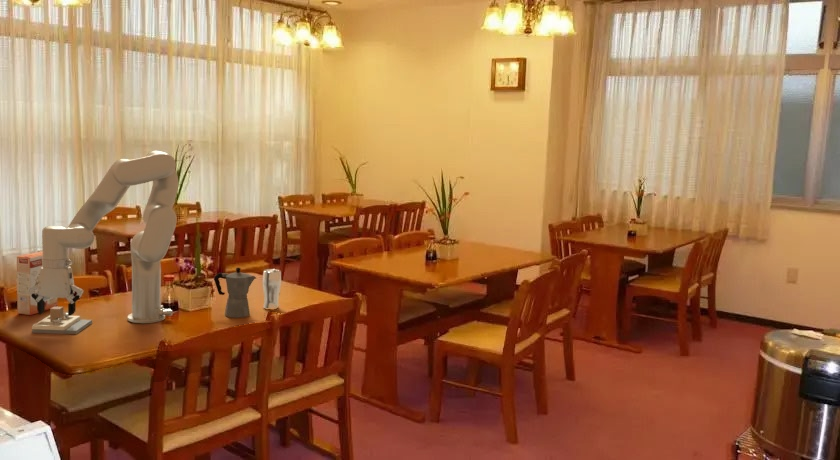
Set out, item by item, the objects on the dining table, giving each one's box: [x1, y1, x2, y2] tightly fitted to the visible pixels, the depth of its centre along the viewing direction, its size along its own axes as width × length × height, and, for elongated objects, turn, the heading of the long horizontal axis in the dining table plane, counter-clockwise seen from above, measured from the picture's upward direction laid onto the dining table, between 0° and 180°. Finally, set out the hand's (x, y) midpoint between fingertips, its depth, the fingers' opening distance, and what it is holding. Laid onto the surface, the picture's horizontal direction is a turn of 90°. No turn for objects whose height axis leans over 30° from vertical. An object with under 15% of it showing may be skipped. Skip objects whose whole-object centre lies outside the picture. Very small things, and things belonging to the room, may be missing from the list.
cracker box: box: [16, 250, 59, 316], centre depth 255 cm, size 14×6×21 cm, turn 168°
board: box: [31, 318, 93, 335], centre depth 237 cm, size 14×13×1 cm
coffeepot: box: [213, 267, 257, 319], centre depth 263 cm, size 15×9×18 cm, turn 92°
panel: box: [31, 306, 81, 330], centre depth 237 cm, size 10×13×6 cm
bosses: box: [53, 311, 72, 325], centre depth 237 cm, size 3×10×3 cm, turn 4°
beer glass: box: [262, 268, 282, 308], centre depth 275 cm, size 7×7×15 cm
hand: (56, 313), depth 237 cm, fingers open, 9 cm apart
